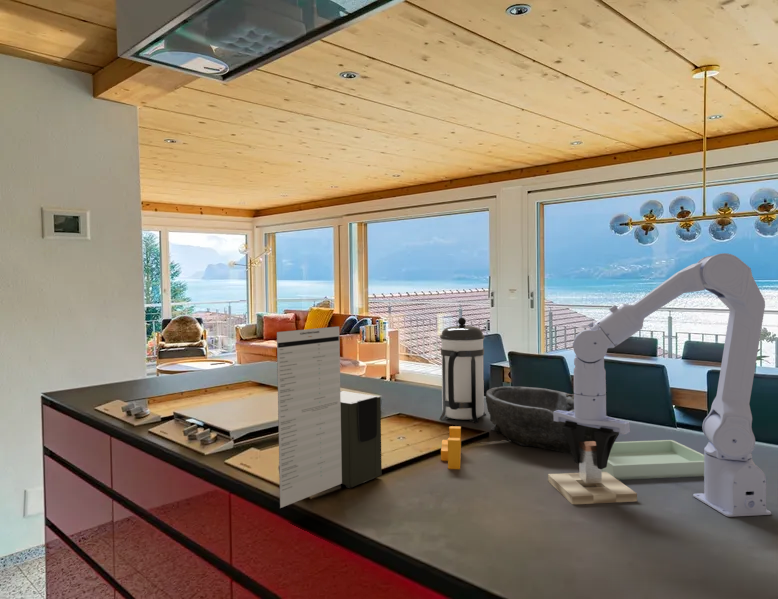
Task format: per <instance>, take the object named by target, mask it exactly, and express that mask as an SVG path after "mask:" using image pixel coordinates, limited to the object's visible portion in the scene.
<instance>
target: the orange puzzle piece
mask: <svg viewBox="0 0 778 599" xmlns="http://www.w3.org/2000/svg"><path fill="white" fill-rule="evenodd" d="M448 428H449V437H448V438H447V439H442V441H441V449H440V461H443V462H447V469H448V470H461V460H462V426H457V425H455V426H453V425H452V426H449V427H448Z"/></svg>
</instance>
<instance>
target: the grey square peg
mask: <svg viewBox="0 0 778 599" xmlns="http://www.w3.org/2000/svg"><path fill="white" fill-rule="evenodd" d="M578 468H579V472H578V473H579V478H580V479H581V480H583V481H584V482H585V483H602V469H598V466H597V447H596V442H595V441H585V442H579V463H578Z"/></svg>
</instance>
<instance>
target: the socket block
mask: <svg viewBox="0 0 778 599" xmlns="http://www.w3.org/2000/svg"><path fill="white" fill-rule="evenodd" d="M547 482H549V484H551V486H553V488H555V489H556V490H557V491H558V492H559V493H560V494H561V495H562V496H563V497H564V498H565V499H566V500H567V501H568V502H569V503H570V504H571V505H585V504H586V505H590V504H591V505H592V504H607V503H609V504H611V503H627V502H630V503H631V502H638V492H636V491H635V490H633V489H632V488H630V487H629V486H627V485H626V484H624V483H623V482H622V481H621V480H617V479H616V478H614V477H613V476H612V475H610V474H609V473H607V472H602V483H585V482H584V481H583V480H581V479H580V478H579V472H567V473H548V474H547Z"/></svg>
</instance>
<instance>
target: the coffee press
mask: <svg viewBox="0 0 778 599" xmlns="http://www.w3.org/2000/svg"><path fill="white" fill-rule="evenodd" d="M457 322H458V326H457V325H454V326H449V327H446V328H444V329H443V330H442V332H441V334H440V335H439V339H440V340H441V342H440V343H441V348H440V355H441V399H442V400H441V404H442V405H441V407H442V409H441V410H442V413H441V415H440V417H439V420H440V421H443V418H444V417H445V418H444V420H447V421H448V420H449V419H452V420H453V419H455V420H468V421H469V422H471V423H472V422H473V424H479V420H478V418H481V417H482V416H487V413H485V411H484V410H485V408H484V407H485V404H484V403H485V400H484V399H485V398H484V397H485V393H484V391H485V388H484V385H485V384H484V383H485V382H484V381H485V380H484V355H485V348H484V339H485V335H484V333H483V331H482V330H481V329H480V328H479V327H477V326H473V325H471V326H469V325H465V324H466V322H467V321H466V318H464V317H460V318H458V320H457Z"/></svg>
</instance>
